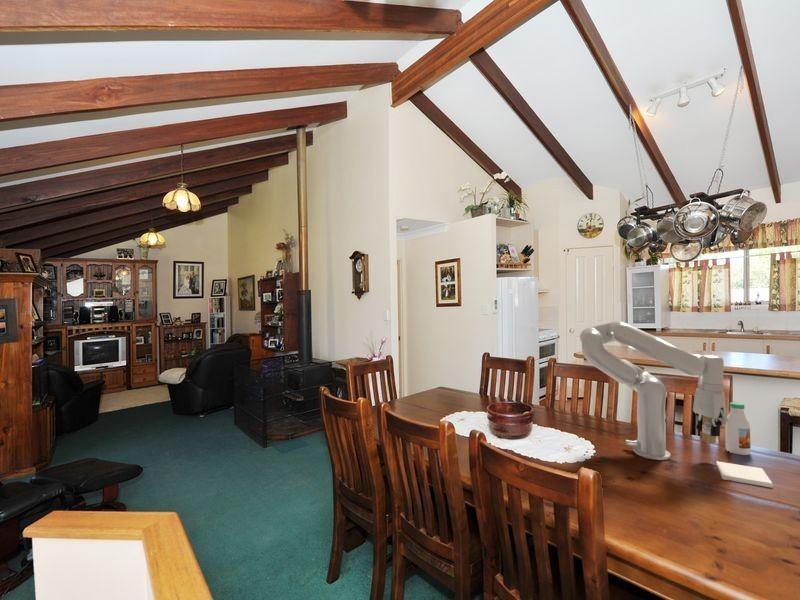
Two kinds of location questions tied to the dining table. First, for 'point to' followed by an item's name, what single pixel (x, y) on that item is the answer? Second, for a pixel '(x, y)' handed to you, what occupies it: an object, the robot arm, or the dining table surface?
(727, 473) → the ceramic tile
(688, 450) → the dining table surface
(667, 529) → the dining table surface
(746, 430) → the milk bottle
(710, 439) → the sprinkles bottle
